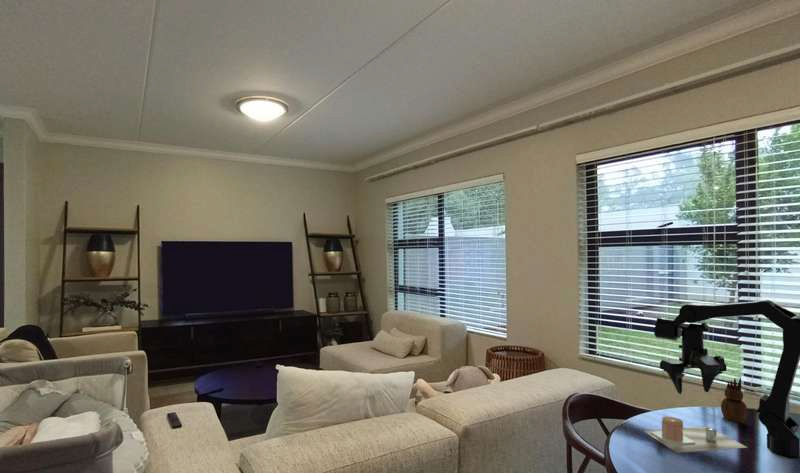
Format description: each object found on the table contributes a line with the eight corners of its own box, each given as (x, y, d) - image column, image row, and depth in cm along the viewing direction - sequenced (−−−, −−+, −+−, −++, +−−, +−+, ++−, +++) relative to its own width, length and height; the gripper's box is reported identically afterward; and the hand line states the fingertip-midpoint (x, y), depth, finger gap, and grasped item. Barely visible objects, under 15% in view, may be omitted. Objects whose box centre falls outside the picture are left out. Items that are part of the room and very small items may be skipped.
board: (747, 451, 126) (747, 447, 126) (676, 456, 123) (676, 452, 123) (708, 429, 139) (707, 426, 139) (643, 434, 137) (643, 430, 137)
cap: (674, 432, 134) (674, 416, 134) (687, 440, 129) (687, 423, 129) (658, 433, 134) (658, 417, 134) (670, 441, 129) (670, 424, 129)
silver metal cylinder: (718, 442, 129) (718, 430, 129) (710, 443, 128) (710, 431, 128) (711, 438, 131) (711, 427, 131) (703, 439, 131) (703, 427, 131)
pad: (695, 443, 128) (695, 442, 128) (669, 445, 127) (669, 443, 127) (674, 431, 136) (674, 430, 136) (650, 433, 135) (650, 431, 135)
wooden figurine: (751, 424, 143) (750, 378, 143) (739, 427, 141) (739, 380, 141) (728, 416, 149) (728, 372, 149) (717, 419, 147) (717, 374, 147)
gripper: (684, 350, 130) (685, 403, 130) (741, 348, 132) (742, 400, 132) (658, 342, 141) (658, 390, 141) (711, 339, 143) (711, 387, 143)
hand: (693, 392), depth 139 cm, fingers open, 9 cm apart
